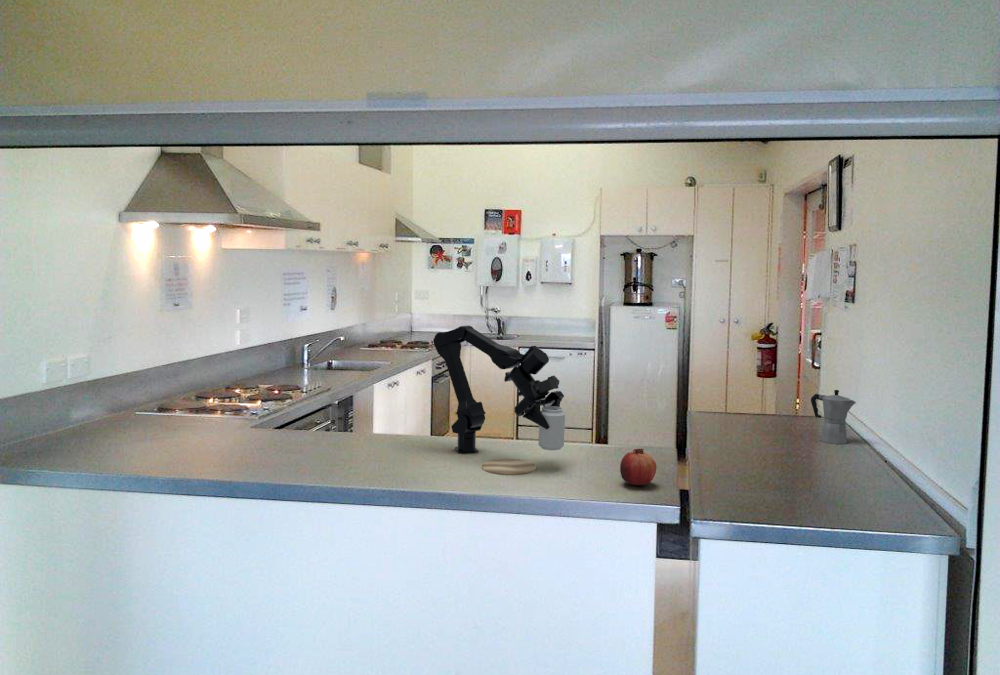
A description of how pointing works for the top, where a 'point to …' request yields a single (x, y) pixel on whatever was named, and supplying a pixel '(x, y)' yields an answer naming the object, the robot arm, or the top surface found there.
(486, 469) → the trivet
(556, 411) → the can
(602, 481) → the top surface
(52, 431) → the top surface
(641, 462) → the fruit
